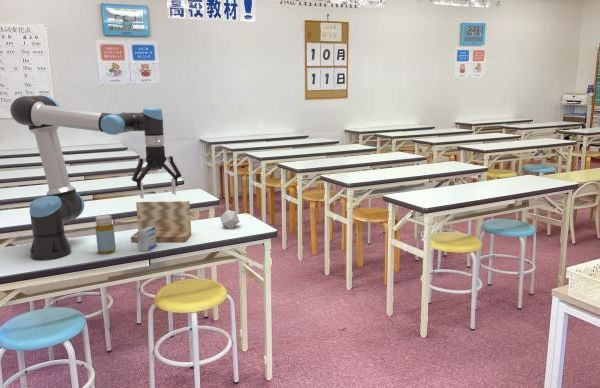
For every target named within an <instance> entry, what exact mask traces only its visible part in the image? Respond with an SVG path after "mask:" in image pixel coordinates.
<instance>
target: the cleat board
mask: <svg viewBox="0 0 600 388" xmlns="http://www.w3.org/2000/svg"><path fill="white" fill-rule="evenodd" d="M135 202H136V203H135V206H136V218H137V228H138V229H137V231H139V230H141V229H143V228H145V227H148V226H152V227H155V230H156V241H157V243H186V242H187V241H188V240H189V238H190V237H191V236H192V223H191V222H192V221H191V207H190V201H189V200H178V201H177V200H173V201H172V200H166V201H165V200H164V201H163V200H161V201H156V200H155V201H153V200H152V201H149V200H148V201H135ZM130 241H131V243H133V244H138V237H137V232H135V233H134V234H133V235H131V237H130Z"/></svg>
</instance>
